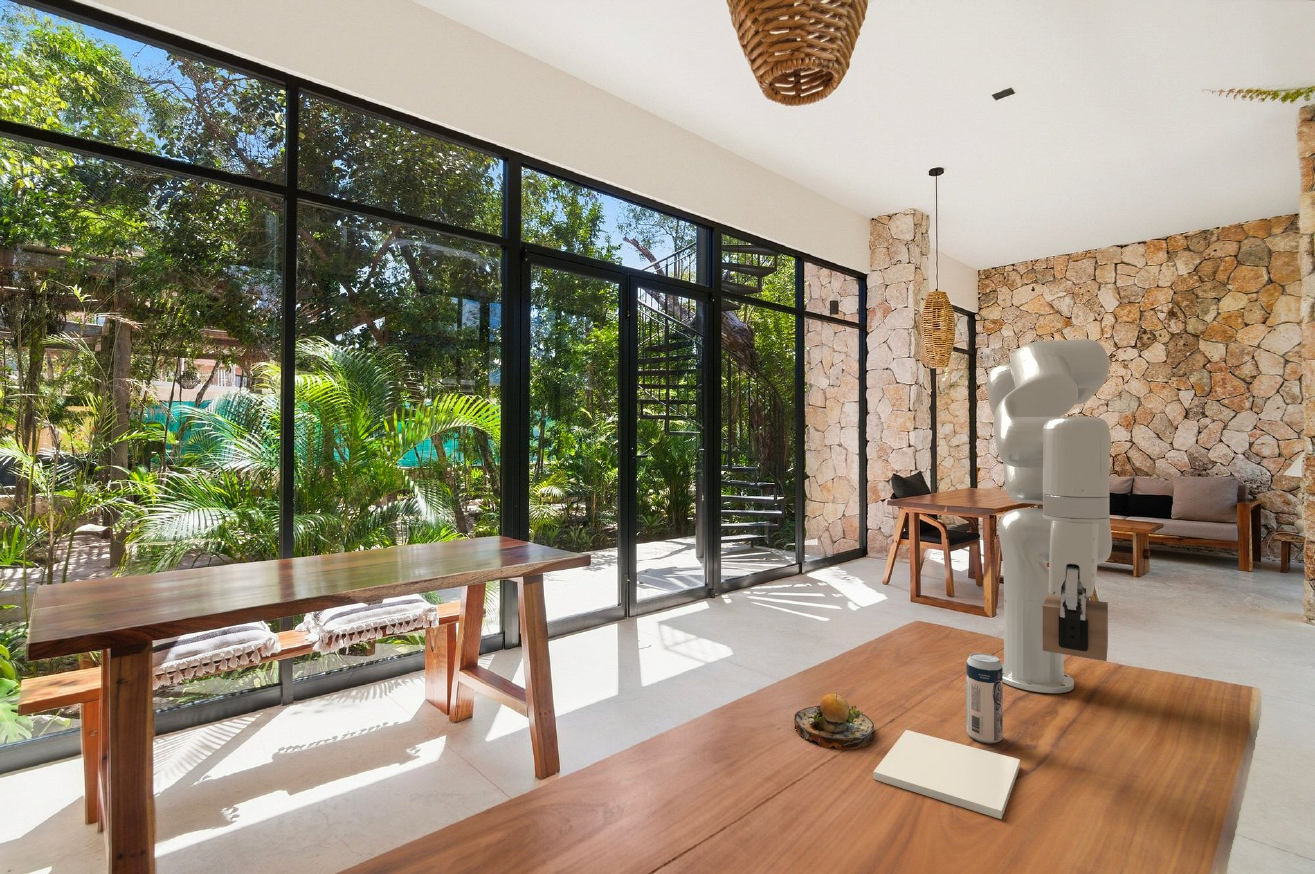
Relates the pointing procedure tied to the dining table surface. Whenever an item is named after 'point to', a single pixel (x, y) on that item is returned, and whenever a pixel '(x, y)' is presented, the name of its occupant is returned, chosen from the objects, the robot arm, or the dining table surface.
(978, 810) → the stone tile
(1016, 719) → the dining table surface
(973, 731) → the beer can
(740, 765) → the dining table surface
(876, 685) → the dining table surface
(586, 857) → the dining table surface
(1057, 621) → the walnut block
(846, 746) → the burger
